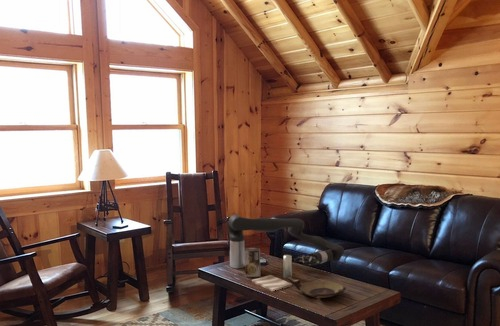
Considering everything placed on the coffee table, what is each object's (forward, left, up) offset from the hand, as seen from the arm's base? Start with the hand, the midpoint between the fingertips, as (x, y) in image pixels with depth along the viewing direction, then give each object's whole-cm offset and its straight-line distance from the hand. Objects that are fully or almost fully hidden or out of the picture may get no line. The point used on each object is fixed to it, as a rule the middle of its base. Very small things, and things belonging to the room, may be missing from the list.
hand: (298, 262), depth 262 cm
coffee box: (-16, -23, -8) cm, 29 cm away
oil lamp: (+30, -14, -8) cm, 34 cm away
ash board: (+3, -24, -7) cm, 25 cm away
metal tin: (0, -9, -8) cm, 12 cm away
